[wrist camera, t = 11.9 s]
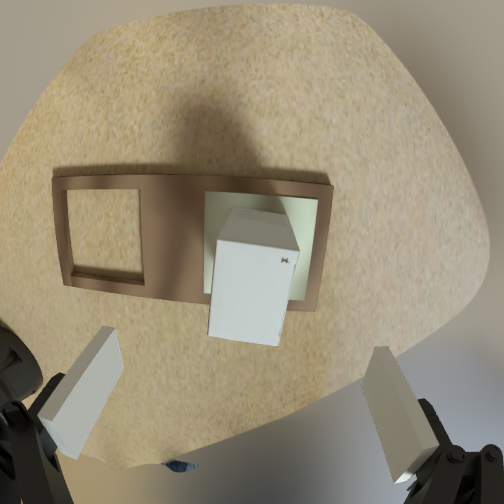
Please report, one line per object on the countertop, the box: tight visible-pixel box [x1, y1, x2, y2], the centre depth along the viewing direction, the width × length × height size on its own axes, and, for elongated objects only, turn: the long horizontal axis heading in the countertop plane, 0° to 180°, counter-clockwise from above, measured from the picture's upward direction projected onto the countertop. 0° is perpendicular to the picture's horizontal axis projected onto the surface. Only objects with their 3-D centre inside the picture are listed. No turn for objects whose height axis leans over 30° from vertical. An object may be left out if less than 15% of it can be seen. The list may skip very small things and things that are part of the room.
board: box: [52, 174, 334, 312], centre depth 31 cm, size 32×14×1 cm, turn 86°
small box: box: [207, 207, 300, 346], centre depth 25 cm, size 8×6×10 cm
